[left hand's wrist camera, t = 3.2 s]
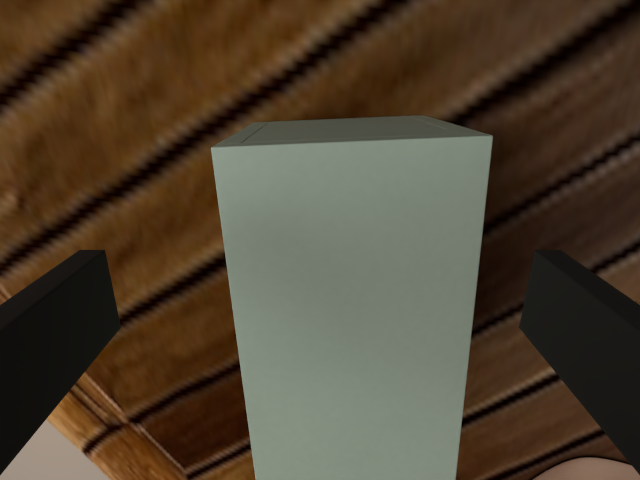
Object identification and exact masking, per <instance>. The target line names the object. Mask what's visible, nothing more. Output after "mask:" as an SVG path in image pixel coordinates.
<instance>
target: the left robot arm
mask: <svg viewBox="0 0 640 480" xmlns="http://www.w3.org/2000/svg"><path fill="white" fill-rule="evenodd" d="M120 328H121V326H120V321H119V316H118V311H117V307H116V302H115V297H114V292H113V287H112V282H111V278H110V273H109V268H108V263H107V258H106V254H105V250H79V251H78V252H76V253H75V254H73V255H72V256H70V257H69V258H68V259H66V260H65V261H63V262H62V263H60V264H59V265H57V266H56V267H55V268H53V269H52V270H50V271H49V272H47V273H46V274H45V275H43V276H42V277H40V278H39V279H37V280H36V281H34V282H33V283H32V284H30V285H29V286H27V287H26V288H24V289H23V290H21V291H20V292H19V293H17V294H16V295H14V296H13V297H11V298H10V299H9V300H7V301H6V302H4V303H3V304H1V305H0V475H1V474H2V472H3V471H4V470H5V469H6V468H7V466H8V465H9V464H10V463H11V461H12V460H13V459H14V458H15V456H16V455H17V454H18V453H19V452H20V450H21V449H22V448H23V447H24V445H25V444H26V443H27V442H28V441H29V439H30V438H31V437H32V436H33V434H34V433H35V432H36V431H37V430H38V428H39V427H40V426H41V425H42V423H43V422H44V421H45V420H46V418H47V417H48V416H49V415H50V414H51V412H52V411H53V410H54V409H55V407H56V406H57V405H58V404H59V403H60V401H61V400H62V399H63V398H64V396H65V395H66V394H67V393H68V392H69V390H70V389H71V388H72V387H73V385H74V384H75V383H76V382H77V380H78V379H79V378H80V377H81V376H82V374H83V373H84V372H85V371H86V369H87V368H88V367H89V366H90V365H91V363H92V362H93V361H94V360H95V358H96V357H97V356H98V355H99V354H100V352H101V351H102V350H103V349H104V347H105V346H106V345H107V344H108V342H109V341H110V340H111V339H112V338H113V336H114V335H115V334H116V333H117V331H118V330H119V329H120ZM519 328H520V329H521V330H522V331H523V333H524V334H525V335H526V336H527V338H528V339H529V340H530V341H531V342H532V344H533V345H534V346H535V347H536V349H537V350H538V351H539V352H540V354H541V355H542V356H543V357H544V358H545V360H546V361H547V362H548V363H549V365H550V366H551V367H552V368H553V369H554V371H555V372H556V373H557V374H558V376H559V377H560V378H561V379H562V380H563V382H564V383H565V384H566V385H567V387H568V388H569V389H570V390H571V392H572V393H573V394H574V395H575V396H576V398H577V399H578V400H579V401H580V403H581V404H582V405H583V406H584V407H585V409H586V410H587V411H588V412H589V414H590V415H591V416H592V417H593V418H594V420H595V421H596V422H597V423H598V425H599V426H600V427H601V428H602V430H603V431H604V432H605V433H606V434H607V436H608V437H609V438H610V439H611V441H612V442H613V443H614V444H615V445H616V447H617V448H618V449H619V450H620V452H621V453H622V454H623V455H624V457H625V458H626V459H627V460H628V461H629V463H630V464H631V465H632V466H633V468H634V469H635V470H636V471H637V472H638V474H639V475H640V305H639V304H637V303H636V302H634V301H633V300H631V299H630V298H629V297H627V296H626V295H624V294H623V293H621V292H620V291H619V290H617V289H616V288H614V287H613V286H611V285H610V284H608V283H607V282H606V281H604V280H603V279H601V278H600V277H598V276H597V275H595V274H594V273H593V272H591V271H590V270H588V269H587V268H585V267H584V266H583V265H581V264H580V263H578V262H577V261H575V260H574V259H572V258H571V257H570V256H568V255H567V254H565V253H564V252H562V251H561V250H535V254H534V258H533V263H532V268H531V273H530V278H529V282H528V287H527V292H526V297H525V302H524V307H523V311H522V316H521V321H520V326H519Z"/></svg>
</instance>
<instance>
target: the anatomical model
mask: <svg viewBox="0 0 640 480" xmlns="http://www.w3.org/2000/svg"><path fill="white" fill-rule="evenodd" d="M533 480H640V475H639V474H638V472H637V471H636V470H635V469H634V468H633V466H632V465H629V464H625V463H621V462H617V461H613V460H608V459H602V458H592V457H585V458H577V459H573V460H569V461H566V462H563V463H561V464H559V465H557V466H554V467H553V468H551V469H549V470H547V471H545V472H544V473H542V474H540V475H539V476H537V477H536V478H534V479H533Z"/></svg>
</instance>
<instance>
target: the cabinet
mask: <svg viewBox="0 0 640 480" xmlns="http://www.w3.org/2000/svg"><path fill="white" fill-rule="evenodd" d="M492 141H493V136H492V135H489V134H485V133H482V132H479V131H475V130H472V129H469V128H465V127H462V126H459V125H455V124H452V123H448V122H445V121H442V120H438V119H435V118H431V117H428V116H424V115H417V116H393V117H370V118H346V119H323V120H299V121H276V122H254V123H252V124H251V125H249V126H247V127H246V128H244V129H242V130H241V131H239V132H237V133H235V134H234V135H232V136H230V137H229V138H227V139H225V140H224V141H222V142H220V143H218V144H217V145H215V146H213V147H211V152H212V160H213V167H214V174H215V182H216V189H217V197H218V204H219V211H220V219H221V226H222V234H223V241H224V248H225V256H226V263H227V271H228V278H229V285H230V293H231V300H232V308H233V315H234V322H235V330H236V337H237V344H238V352H239V359H240V367H241V374H242V381H243V389H244V396H245V404H246V411H247V418H248V426H249V433H250V441H251V448H252V455H253V463H254V470H255V478H256V480H455V479H456V470H457V461H458V452H459V443H460V434H461V425H462V415H463V406H464V397H465V388H466V379H467V370H468V361H469V351H470V342H471V333H472V324H473V315H474V306H475V297H476V287H477V278H478V269H479V260H480V251H481V242H482V233H483V223H484V214H485V205H486V196H487V187H488V178H489V168H490V159H491V150H492Z"/></svg>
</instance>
